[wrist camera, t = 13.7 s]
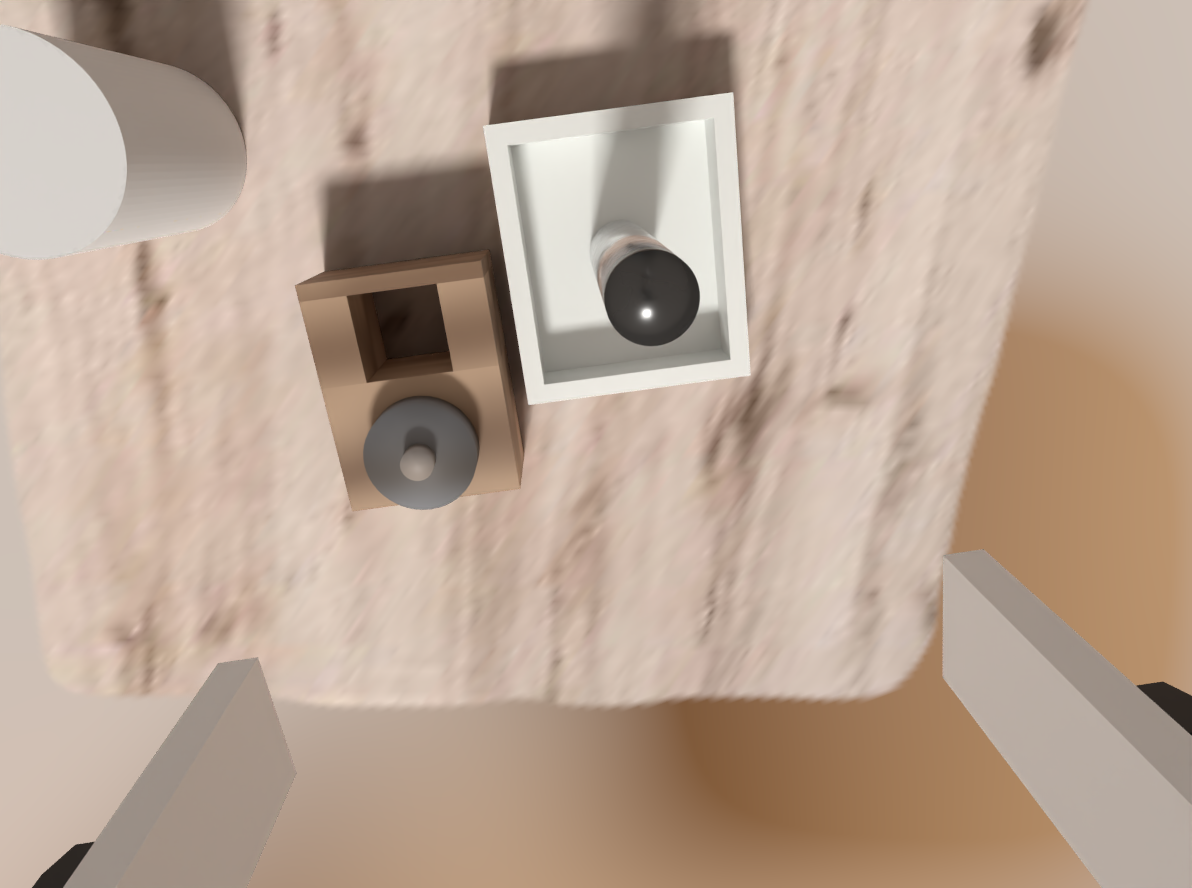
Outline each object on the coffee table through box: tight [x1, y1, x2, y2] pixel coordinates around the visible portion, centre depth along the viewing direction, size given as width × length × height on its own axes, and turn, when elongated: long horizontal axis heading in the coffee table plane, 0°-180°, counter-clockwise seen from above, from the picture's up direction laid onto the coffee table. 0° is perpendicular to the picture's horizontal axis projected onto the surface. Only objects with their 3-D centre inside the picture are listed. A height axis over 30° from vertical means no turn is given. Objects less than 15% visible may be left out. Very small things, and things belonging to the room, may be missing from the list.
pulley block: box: [295, 250, 524, 511], centre depth 41 cm, size 12×9×8 cm
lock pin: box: [590, 220, 700, 346], centre depth 35 cm, size 3×3×15 cm
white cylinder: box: [0, 24, 247, 260], centre depth 35 cm, size 8×8×12 cm
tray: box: [483, 92, 750, 405], centre depth 41 cm, size 14×12×3 cm
